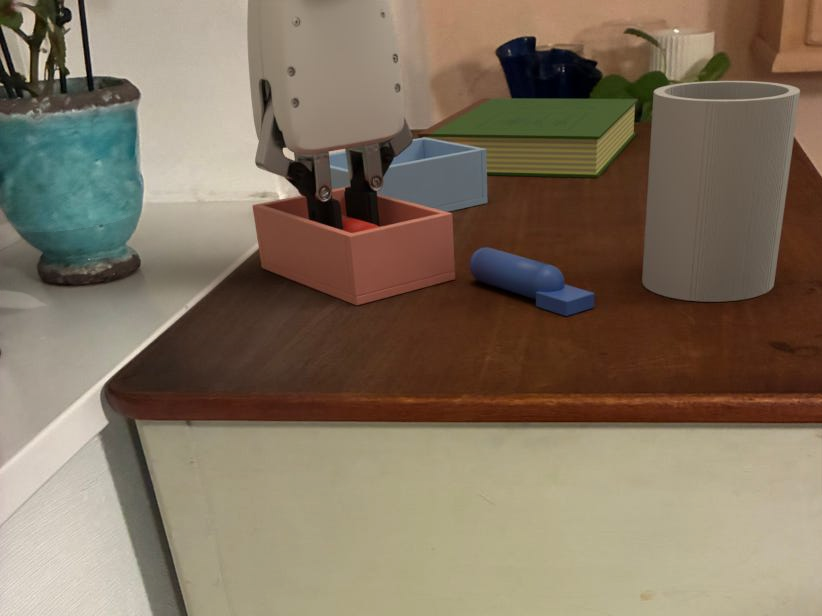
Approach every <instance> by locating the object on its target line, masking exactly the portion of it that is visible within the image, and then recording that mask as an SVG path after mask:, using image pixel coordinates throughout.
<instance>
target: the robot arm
mask: <svg viewBox="0 0 822 616" xmlns="http://www.w3.org/2000/svg"><path fill="white" fill-rule="evenodd" d="M246 21H247V22H246V23H247V24H246V25H247V27H246V31H247V35H246V36H247V37H246V39H247V58H248V59H247V60H248V61H247V63H248V76H249V89H250V98H251V107H252V116H253V123H254V129H255V134H256V137H257V139H258V143H257V148H256V153H255V158H254V163H255V166H256V167H257V168H258V169H260V170H262V171H265V172H268V173H271V174H273V175H277V176H279V177H282V178H284V179H285V180H286V181H287V182H288V183H290V185H292V186H293V187H294V188H295V189H296V190H297V192H298V194H299V196H305V197H306V200H307V208H308V216H309V220H311V221H315V222H318V223H321V224H324V225H327V226H330V227H334V228H337V229H340V230H343V224H342V215H341V206H340V202H339V201H338V200H336V199H332V185H331V173H330V161H329V154H330V152H334V151H339V150H344V151H346V158H347V166H348V173H349V180H350V185H351V186H350V187H345V192H344V196H345V206H346V215H347V216H348V217H351V218H354V219H358V220H361V221H365V222H368V223H372V224H375V225H377V226H379V227H380V222H379V211H378V200H377V191H379V190H380V189H381V188H382V187H383V177H384V175H385V173H386V172H387V170H388V168H389V167H390V165H391V163H392V161H393V159H394V157H397V156H398V155H399V154H400V153H402V152H403V151H404V150H405V149H406V148H407V147H409V146H410V145H411V144H412V141H413V139H414V137H413V134H412V130H411V129H410V126H409V124H408V122H407V120H406V115H405V93H404V84H403V83H404V82H403V71H402V65H401V56H400V50H399V44H398V38H397V32H396V27H395V22H394V16H393V12H392V7H391V3H390V0H247V20H246ZM284 149H288V151H290V152H291V153H293V157H294V159H292V158H289V157H287V156H286V155H285V154H284Z"/></svg>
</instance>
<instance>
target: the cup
mask: <svg viewBox="0 0 822 616" xmlns="http://www.w3.org/2000/svg"><path fill="white" fill-rule="evenodd" d="M652 94H653V96H652V97H653V98H652V111H651V112H652V113H651V126H650V127H651V129H650V130H651V131H650V142H649V143H650V146H649V162H648V175H647V176H648V179H647V195H646V210H645V214H646V215H645V227H644V244H643V259H642V277H641V280H642V281H641V283H642V285H643V287H645V289H646V290H649V291H650V292H652V293H654V294H657V295H659V296H663V297H666V298H669V299H670V298H672V299H676V300H682V301H688V302H689V301H692V302H703V303H719V302H721V303H722V302H723V303H724V302H734V301H736V302H737V301H742V300H743V301H744V300H748V299H752V298H757V297H760V296H763V295H765V294H767V293H769V292H770V291H771V290H773V288H774V286H775V279H776V273H777V266H778V265H777V264H778V259H779V251H780V245H781V244H780V242H781V235H782V228H783V220H784V214H785V206H786V199H787V193H788V192H787V191H788V183H789V176H790V169H791V164H792V163H791V162H792V155H793V147H794V140H795V132H796V126H797V118H798V110H799V103H800V96H801V89H800V88H798V87H796V86H793V85H789V84H784V83H777V82H769V81H768V82H767V81H757V80H756V81H752V80H707V81H693V82H692V81H691V82H682V83H675V84H667V85H663V86H661V87H657V88H655V89H654V90H653V93H652Z"/></svg>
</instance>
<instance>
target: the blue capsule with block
mask: <svg viewBox="0 0 822 616" xmlns="http://www.w3.org/2000/svg"><path fill="white" fill-rule="evenodd" d="M469 270H470V273H471V275H472V277H473V278H474V279H475V280H476V281H478V282H480V283H483V284H485V285H488V286H492V287H495V288H497V289H501V290H504V291H508V292H511V293H514V294H517V295H520V296H523V297H526V298H529V299H532V300H535V307H537V308H539V309H542V310H544V311H545V310H546V311H549V312H553V313H555V314H558V315H561V316H564V317H568V316H571V315H575V314H578V313H581V312H585V311H588V310H591V309H594V308H595V293H594V292H592V291H589V290H586V289H582V288H580V287H579V288H578V287H575V286H572V285H568V284H566V283H565V277H564V275H563V273H562V271H561V270H560V269H559V268H557V267H556V266H554V265H552V264H548V263H545V262H541V261H538V260H534V259H530V258H527V257H524V256H520V255H517V254H513V253H510V252H506V251H503V250H500V249H499V250H498V249H496V248H494V247H493V248H492V247H480V248H479V249H477V250H475V251H474V253H473V254H472V255H471V258H470V260H469Z"/></svg>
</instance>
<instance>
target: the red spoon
mask: <svg viewBox="0 0 822 616" xmlns="http://www.w3.org/2000/svg"><path fill="white" fill-rule="evenodd" d="M308 220H309V219H308ZM342 224H343V231H346V232H350V233H355V232H360V231H364V230H369V229H373V228H378V227H379V226H377V225H375V224H372V223H368V222H365V221H361V220H358V219H354V218H351V217H348V216H344V215H342Z"/></svg>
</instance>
